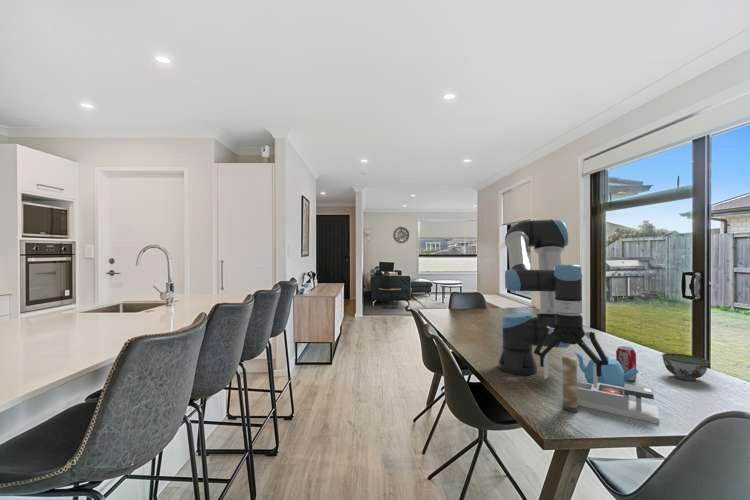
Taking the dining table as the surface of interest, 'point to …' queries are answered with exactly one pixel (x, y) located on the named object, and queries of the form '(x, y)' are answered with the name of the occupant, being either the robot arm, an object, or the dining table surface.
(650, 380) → the dining table surface
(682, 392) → the dining table surface
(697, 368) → the bowl
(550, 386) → the dining table surface
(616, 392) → the orange round button
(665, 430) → the dining table surface
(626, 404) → the grey slotted holder
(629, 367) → the beverage can
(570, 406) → the tan banded rod
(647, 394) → the plate
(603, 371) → the teapot
